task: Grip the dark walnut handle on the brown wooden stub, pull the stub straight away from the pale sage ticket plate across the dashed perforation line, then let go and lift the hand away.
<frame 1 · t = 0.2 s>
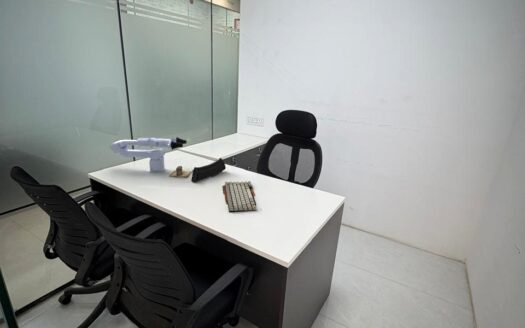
hand: (184, 143, 181), 21 cm above the table, tool horizontal, fingers open, 7 cm apart
mechanical keyboard: (240, 197, 154), on the table
stub: (179, 171, 179), point 4 cm above the table, slide at 0.0 cm
ticket: (184, 170, 188), resting on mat
black curved slab: (209, 177, 181), on the table
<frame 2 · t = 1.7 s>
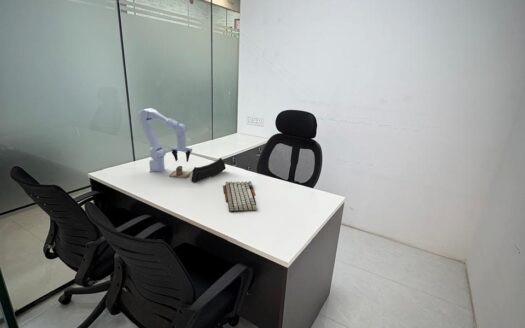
hand: (182, 161, 182), 9 cm above the table, tool pointing down, fingers open, 7 cm apart
nothing on the table moved.
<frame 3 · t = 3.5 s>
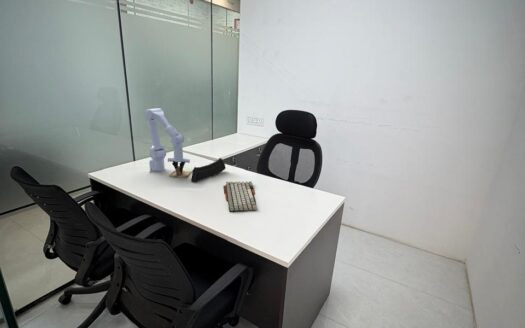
hand: (179, 172, 178), 3 cm above the table, tool pointing down, fingers closed on stub, 2 cm apart
stub: (179, 171, 179), point 4 cm above the table, slide at 0.0 cm, touching gripper
everything else where it was.
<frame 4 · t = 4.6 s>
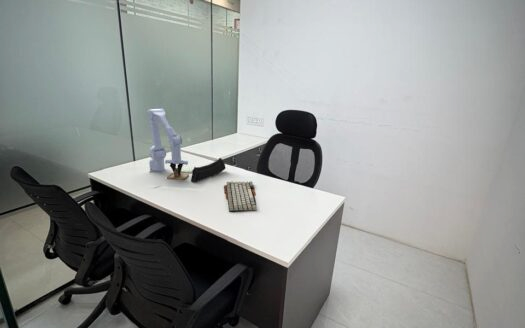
hand: (177, 174, 174), 3 cm above the table, tool pointing down, fingers closed on stub, 2 cm apart
stub: (177, 172, 175), point 4 cm above the table, slide at 3.8 cm, touching gripper
everything else where it was.
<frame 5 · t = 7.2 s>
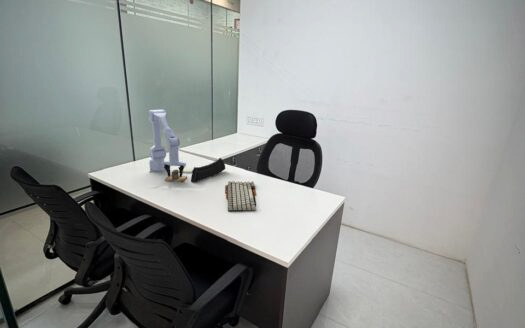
hand: (175, 176, 170), 3 cm above the table, tool pointing down, fingers open, 7 cm apart
stub: (175, 174, 171), point 4 cm above the table, slide at 7.6 cm
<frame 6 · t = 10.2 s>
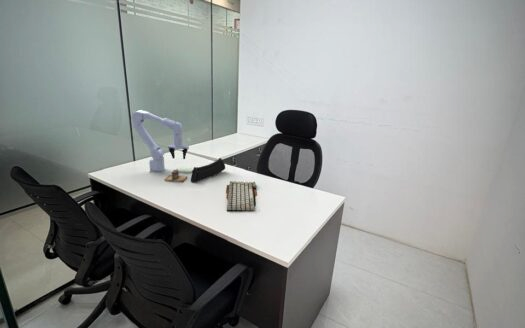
hand: (178, 158, 187), 9 cm above the table, tool pointing down, fingers open, 7 cm apart
at the end: stub slide at 7.6 cm; the gripper is holding nothing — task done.
